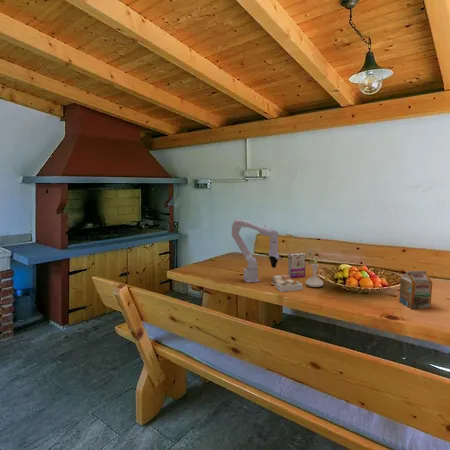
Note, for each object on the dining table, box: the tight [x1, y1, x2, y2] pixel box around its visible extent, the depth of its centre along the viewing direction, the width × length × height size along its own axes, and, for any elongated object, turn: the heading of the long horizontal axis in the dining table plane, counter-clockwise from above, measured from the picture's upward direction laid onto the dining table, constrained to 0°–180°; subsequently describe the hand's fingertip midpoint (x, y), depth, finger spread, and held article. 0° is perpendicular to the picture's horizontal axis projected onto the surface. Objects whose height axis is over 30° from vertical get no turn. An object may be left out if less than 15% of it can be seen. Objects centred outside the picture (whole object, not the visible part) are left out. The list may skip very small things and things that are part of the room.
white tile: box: [272, 274, 282, 281], centre depth 213 cm, size 4×4×2 cm
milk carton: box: [398, 270, 433, 310], centre depth 172 cm, size 11×11×19 cm
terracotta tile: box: [280, 274, 291, 280], centre depth 214 cm, size 4×4×2 cm
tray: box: [275, 280, 304, 293], centre depth 202 cm, size 15×8×4 cm, turn 104°
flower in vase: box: [304, 247, 324, 288], centre depth 207 cm, size 13×11×25 cm
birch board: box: [271, 278, 296, 287], centre depth 212 cm, size 12×10×3 cm
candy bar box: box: [287, 252, 306, 279], centre depth 228 cm, size 11×5×16 cm, turn 104°
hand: (273, 267), depth 219 cm, fingers closed
